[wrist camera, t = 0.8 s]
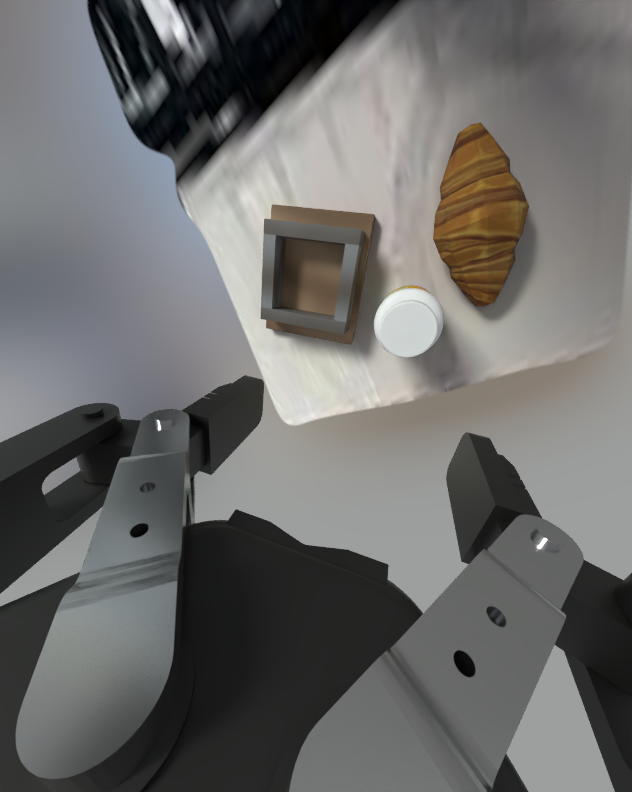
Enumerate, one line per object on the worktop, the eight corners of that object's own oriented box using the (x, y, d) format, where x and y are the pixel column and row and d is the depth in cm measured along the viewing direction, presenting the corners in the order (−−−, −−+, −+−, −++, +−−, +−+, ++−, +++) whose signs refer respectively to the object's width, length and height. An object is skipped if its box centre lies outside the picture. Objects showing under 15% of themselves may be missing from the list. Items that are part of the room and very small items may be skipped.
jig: (275, 206, 28) (259, 198, 25) (375, 216, 26) (371, 208, 23) (269, 326, 33) (256, 331, 30) (352, 342, 31) (346, 350, 28)
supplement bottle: (445, 323, 28) (462, 346, 19) (394, 348, 30) (390, 379, 21) (421, 273, 27) (429, 273, 18) (371, 303, 29) (356, 316, 20)
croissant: (419, 154, 23) (422, 127, 19) (513, 111, 21) (542, 68, 17) (441, 314, 28) (448, 322, 23) (522, 294, 25) (547, 299, 21)
